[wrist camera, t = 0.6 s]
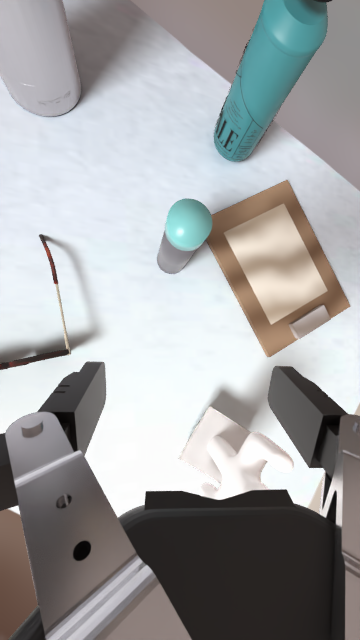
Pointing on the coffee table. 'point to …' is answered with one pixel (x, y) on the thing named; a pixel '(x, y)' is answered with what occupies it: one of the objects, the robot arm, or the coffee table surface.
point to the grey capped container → (183, 234)
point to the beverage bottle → (269, 72)
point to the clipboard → (275, 267)
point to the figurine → (231, 456)
